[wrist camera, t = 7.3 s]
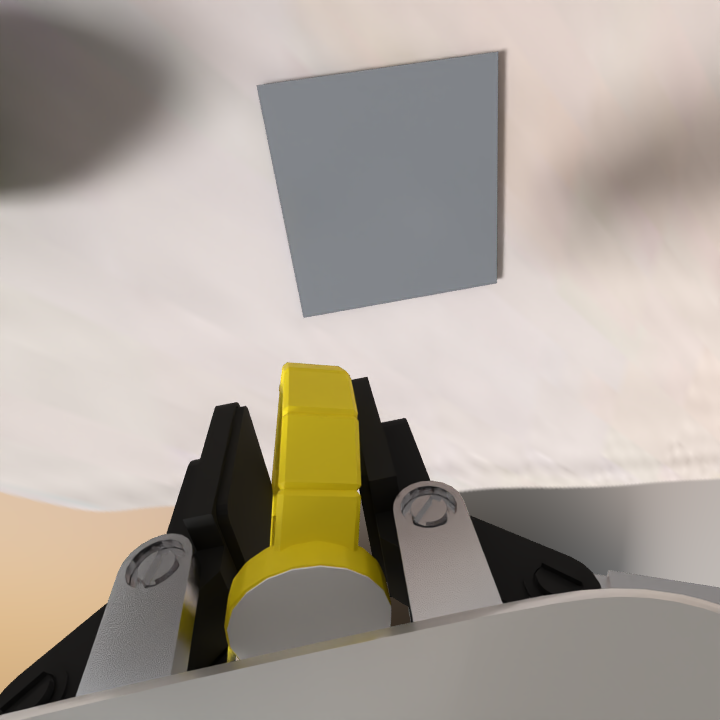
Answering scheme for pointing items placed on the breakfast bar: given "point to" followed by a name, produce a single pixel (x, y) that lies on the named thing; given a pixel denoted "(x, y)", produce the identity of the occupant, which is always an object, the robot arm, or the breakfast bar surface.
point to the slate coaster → (387, 180)
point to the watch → (310, 528)
